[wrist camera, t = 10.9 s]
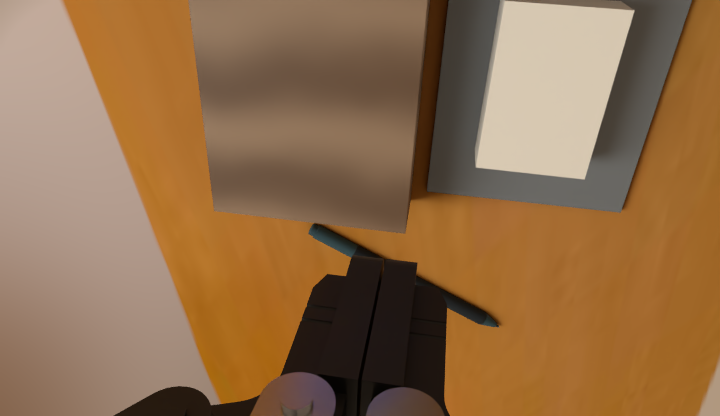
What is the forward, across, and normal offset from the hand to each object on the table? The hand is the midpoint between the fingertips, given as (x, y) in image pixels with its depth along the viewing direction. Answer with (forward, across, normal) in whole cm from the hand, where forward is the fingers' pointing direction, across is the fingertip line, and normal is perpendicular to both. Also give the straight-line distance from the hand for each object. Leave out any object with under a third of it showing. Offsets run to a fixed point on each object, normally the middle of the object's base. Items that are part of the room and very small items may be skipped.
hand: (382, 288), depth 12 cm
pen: (+22, 0, +16) cm, 27 cm away
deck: (+21, +6, +1) cm, 22 cm away
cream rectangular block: (+20, -6, +1) cm, 21 cm away
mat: (+21, -7, +1) cm, 22 cm away
